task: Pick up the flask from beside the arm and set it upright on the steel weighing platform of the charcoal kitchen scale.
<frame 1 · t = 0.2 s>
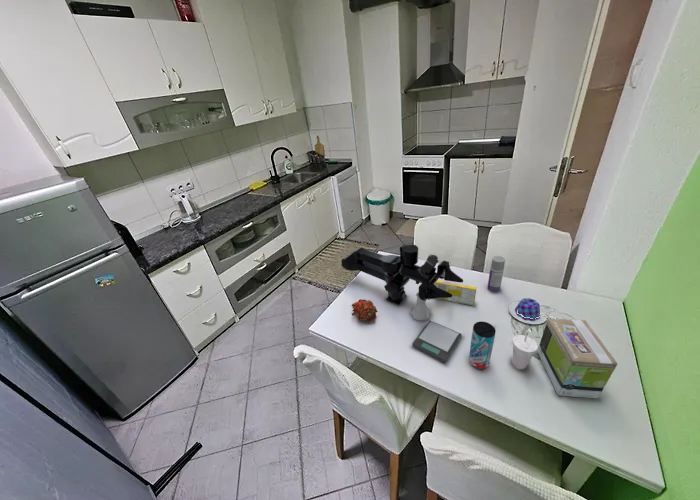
hand: (457, 288, 94), 16 cm above the table, tool horizontal, fingers open, 9 cm apart
beverage can: (478, 362, 88), on the table
smoothie: (518, 364, 85), on the table
scale: (437, 342, 96), on the table
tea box: (564, 373, 81), on the table
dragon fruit: (364, 316, 111), on the table
flask: (420, 314, 108), on the table
pudding: (527, 313, 102), on the table
container: (493, 289, 115), on the table
candy box: (452, 300, 113), on the table
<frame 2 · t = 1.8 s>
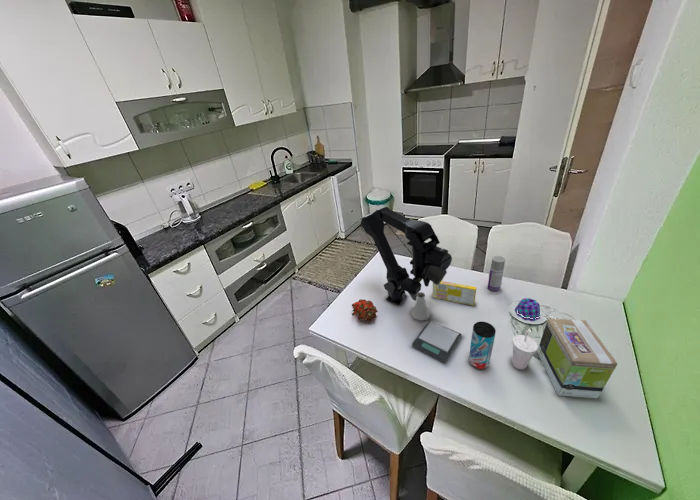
hand: (420, 292, 103), 11 cm above the table, tool pointing down, fingers open, 9 cm apart
nothing on the table moved.
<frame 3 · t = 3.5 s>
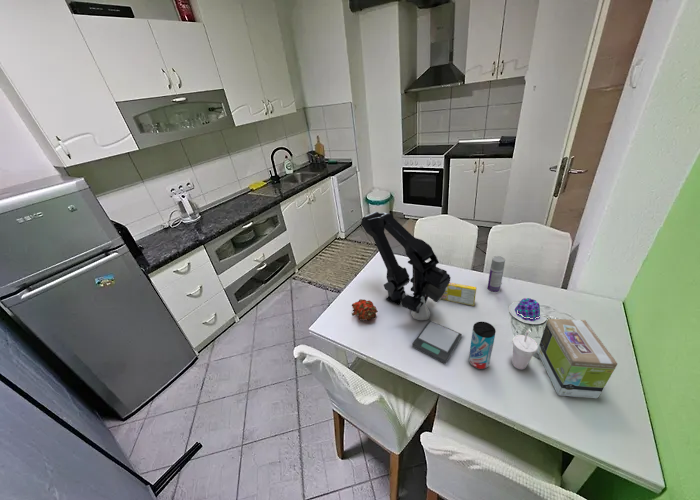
hand: (420, 308, 107), 3 cm above the table, tool pointing down, fingers closed on flask, 5 cm apart
flask: (420, 314, 109), on the table, touching gripper
everything else where it was.
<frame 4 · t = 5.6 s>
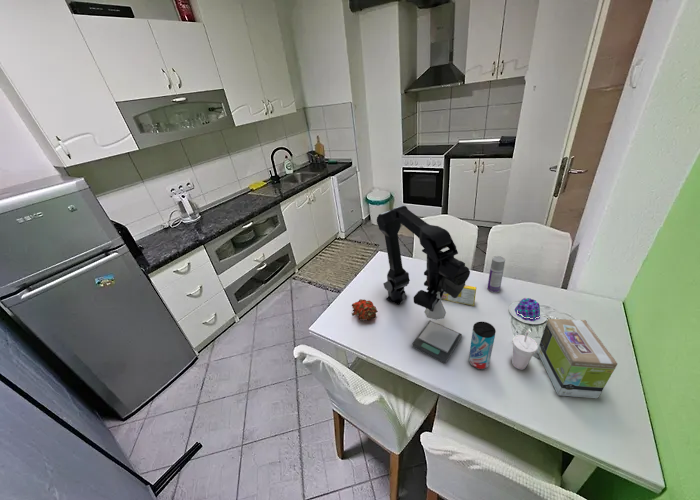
hand: (435, 306, 93), 13 cm above the table, tool pointing down, fingers closed on flask, 5 cm apart
flask: (435, 313, 94), point 10 cm above the table, touching gripper
everything else where it was.
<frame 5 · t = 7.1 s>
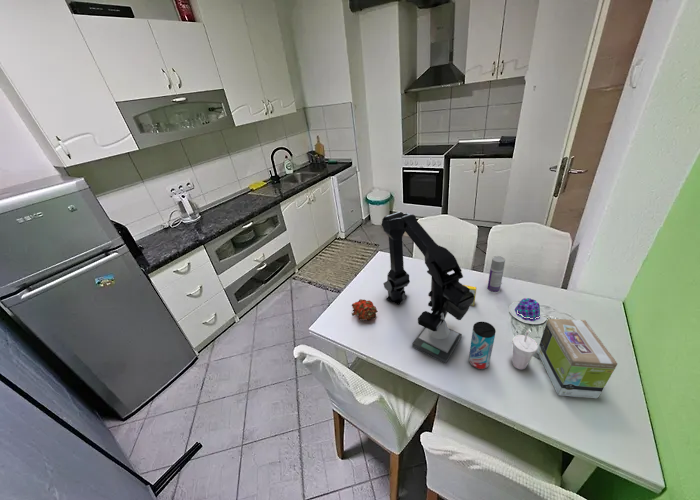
hand: (438, 325, 93), 7 cm above the table, tool pointing down, fingers closed on flask, 5 cm apart
flask: (438, 331, 95), point 4 cm above the table, touching gripper
everything else where it was.
when the fingers open (5 cm above the table, at t = 8.1 s): flask stays where it is, resting on scale.
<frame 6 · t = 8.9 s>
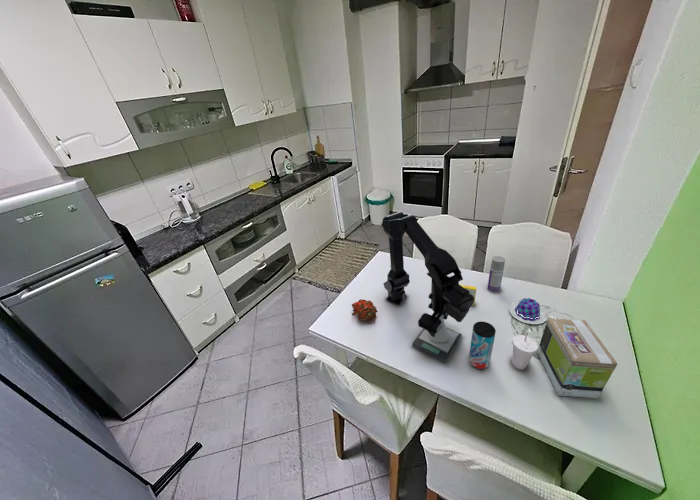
hand: (439, 327, 94), 6 cm above the table, tool pointing down, fingers open, 9 cm apart
flask: (438, 335, 96), point 2 cm above the table, touching scale
everything else where it was.
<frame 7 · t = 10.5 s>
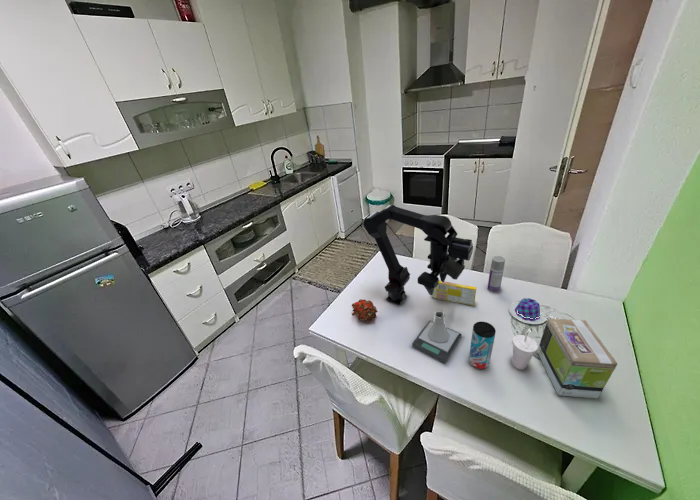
hand: (437, 288, 102), 12 cm above the table, tool pointing down, fingers open, 9 cm apart
nothing on the table moved.
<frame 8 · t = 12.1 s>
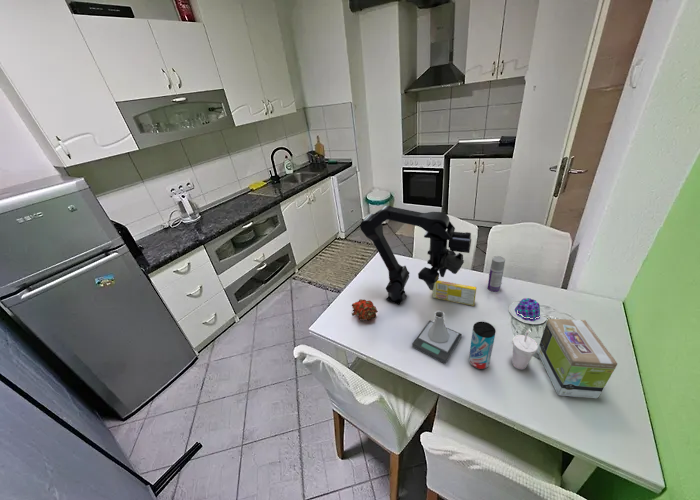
hand: (436, 283, 105), 12 cm above the table, tool pointing down, fingers open, 9 cm apart
nothing on the table moved.
at the end: flask inside the target area on the scale (0.1 cm from its centre), point 2.6 cm above the scale's base; flask tilted 0°; the gripper is holding nothing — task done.
